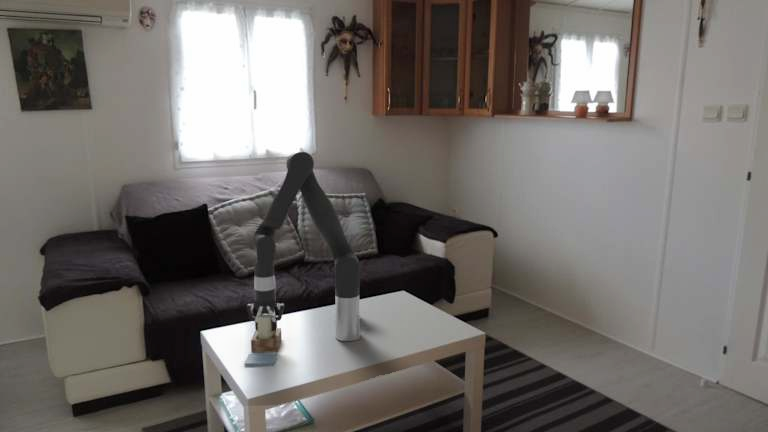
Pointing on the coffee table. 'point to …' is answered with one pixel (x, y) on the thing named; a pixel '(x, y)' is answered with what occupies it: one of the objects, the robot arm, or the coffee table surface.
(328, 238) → the robot arm
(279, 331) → the pocket block
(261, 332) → the skincare box
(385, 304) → the coffee table surface
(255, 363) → the pad
